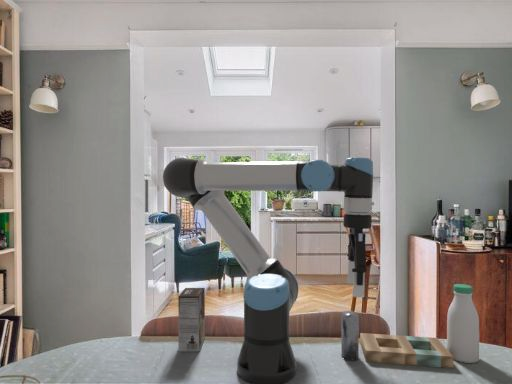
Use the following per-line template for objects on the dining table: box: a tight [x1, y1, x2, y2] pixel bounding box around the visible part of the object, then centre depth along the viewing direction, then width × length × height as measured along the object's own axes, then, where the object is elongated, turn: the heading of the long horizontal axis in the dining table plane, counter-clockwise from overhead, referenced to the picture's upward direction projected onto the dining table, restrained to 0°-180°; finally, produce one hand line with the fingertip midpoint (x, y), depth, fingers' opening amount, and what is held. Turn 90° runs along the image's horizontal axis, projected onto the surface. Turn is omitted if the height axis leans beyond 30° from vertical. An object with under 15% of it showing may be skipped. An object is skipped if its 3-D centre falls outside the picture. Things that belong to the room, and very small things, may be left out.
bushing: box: [341, 310, 360, 362], centre depth 98 cm, size 5×5×12 cm
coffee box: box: [177, 287, 206, 352], centre depth 105 cm, size 9×6×16 cm
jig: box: [359, 332, 454, 369], centre depth 99 cm, size 22×12×3 cm, turn 81°
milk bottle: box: [446, 283, 480, 364], centre depth 98 cm, size 8×8×20 cm
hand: (355, 289), depth 98 cm, fingers open, 13 cm apart
